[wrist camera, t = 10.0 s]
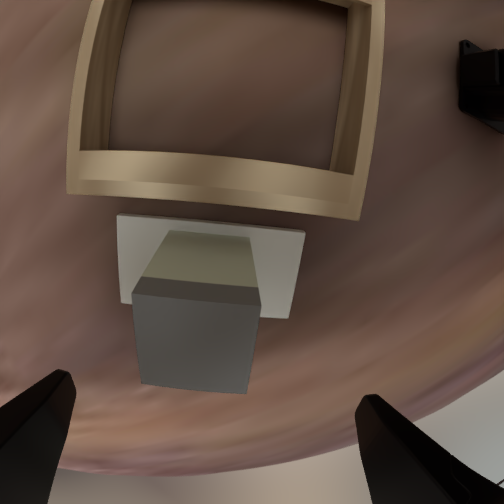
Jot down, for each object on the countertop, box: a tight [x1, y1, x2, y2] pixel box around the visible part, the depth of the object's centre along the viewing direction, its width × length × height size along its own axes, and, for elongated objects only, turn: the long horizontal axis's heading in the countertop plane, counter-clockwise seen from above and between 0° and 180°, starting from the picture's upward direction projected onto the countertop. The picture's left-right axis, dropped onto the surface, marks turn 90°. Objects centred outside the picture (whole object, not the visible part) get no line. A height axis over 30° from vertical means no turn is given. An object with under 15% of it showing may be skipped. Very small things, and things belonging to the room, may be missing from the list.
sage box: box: [131, 230, 262, 394], centre depth 16 cm, size 5×5×8 cm
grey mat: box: [117, 213, 306, 319], centre depth 20 cm, size 12×6×1 cm, turn 83°
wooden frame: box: [66, 0, 385, 221], centre depth 14 cm, size 16×15×4 cm
